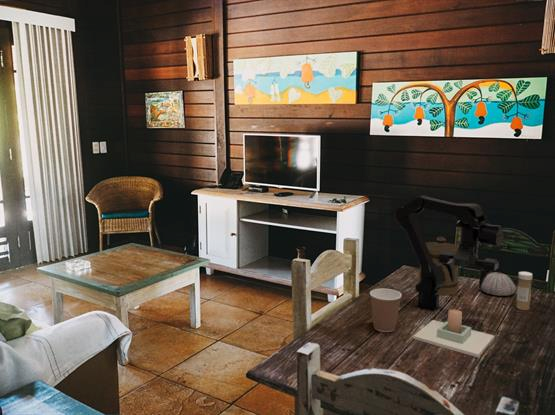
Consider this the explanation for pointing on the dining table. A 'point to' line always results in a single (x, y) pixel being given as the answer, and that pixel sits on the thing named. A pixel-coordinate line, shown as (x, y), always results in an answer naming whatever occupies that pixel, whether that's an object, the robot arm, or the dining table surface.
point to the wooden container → (435, 251)
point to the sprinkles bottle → (524, 290)
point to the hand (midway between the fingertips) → (466, 284)
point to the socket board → (455, 338)
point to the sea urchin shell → (498, 284)
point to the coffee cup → (385, 308)
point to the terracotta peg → (454, 321)
